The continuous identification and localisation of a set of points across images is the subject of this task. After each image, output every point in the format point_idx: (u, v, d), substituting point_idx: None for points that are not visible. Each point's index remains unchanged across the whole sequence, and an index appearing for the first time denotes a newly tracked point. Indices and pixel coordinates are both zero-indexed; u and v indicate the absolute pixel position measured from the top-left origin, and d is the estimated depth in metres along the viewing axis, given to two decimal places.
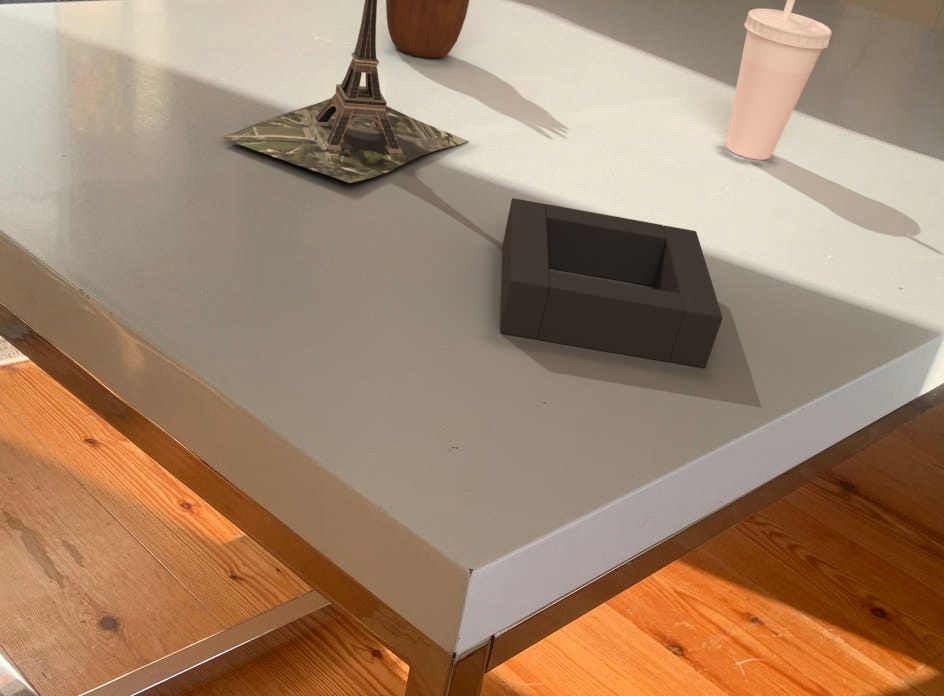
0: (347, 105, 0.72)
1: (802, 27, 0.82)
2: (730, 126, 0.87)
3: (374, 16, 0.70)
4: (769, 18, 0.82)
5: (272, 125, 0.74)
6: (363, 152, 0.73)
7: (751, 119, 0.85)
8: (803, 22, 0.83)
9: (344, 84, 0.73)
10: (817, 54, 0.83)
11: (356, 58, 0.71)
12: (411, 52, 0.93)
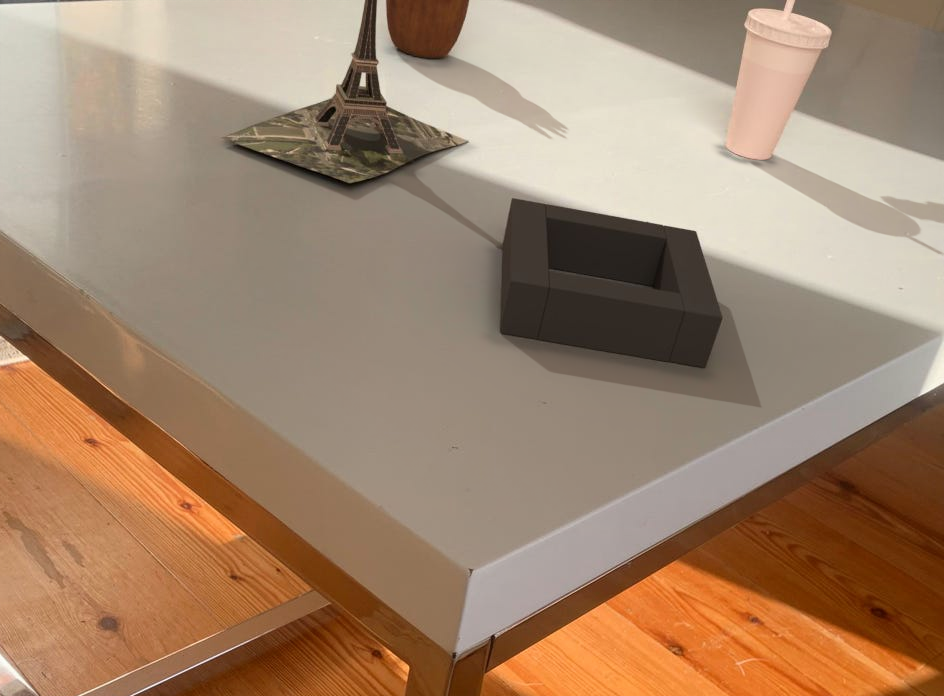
0: (347, 105, 0.72)
1: (802, 27, 0.82)
2: (730, 126, 0.87)
3: (374, 16, 0.70)
4: (769, 18, 0.82)
5: (272, 125, 0.74)
6: (363, 152, 0.73)
7: (751, 119, 0.85)
8: (803, 22, 0.83)
9: (344, 84, 0.73)
10: (817, 54, 0.83)
11: (356, 58, 0.71)
12: (411, 52, 0.93)
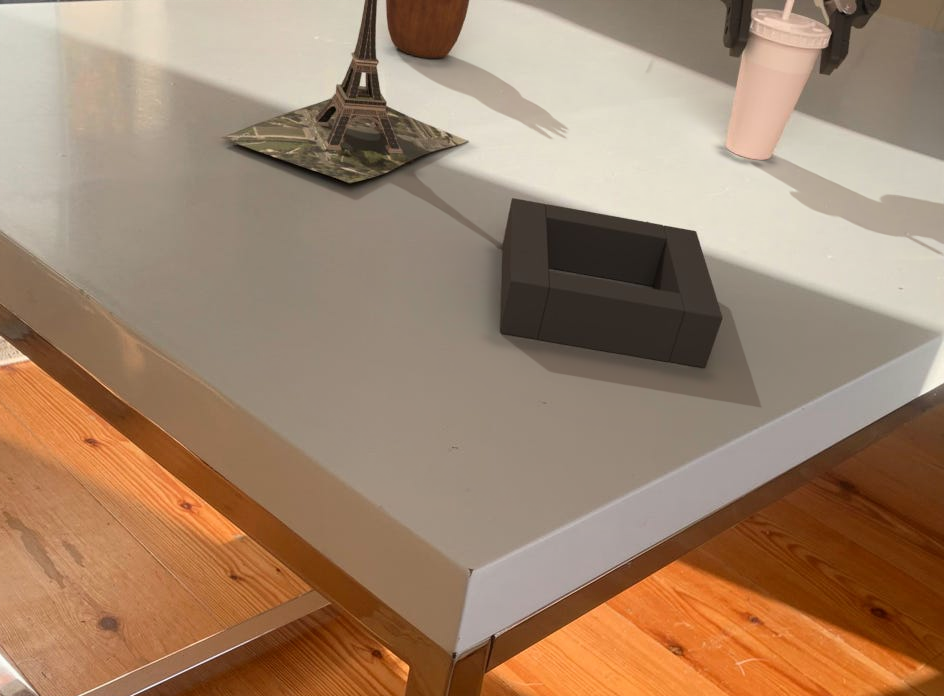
0: (347, 105, 0.72)
1: (802, 27, 0.82)
2: (730, 126, 0.87)
3: (374, 16, 0.70)
4: (769, 18, 0.82)
5: (272, 125, 0.74)
6: (363, 152, 0.73)
7: (751, 119, 0.85)
8: (803, 22, 0.83)
9: (344, 84, 0.73)
10: (817, 54, 0.83)
11: (356, 58, 0.71)
12: (411, 52, 0.93)
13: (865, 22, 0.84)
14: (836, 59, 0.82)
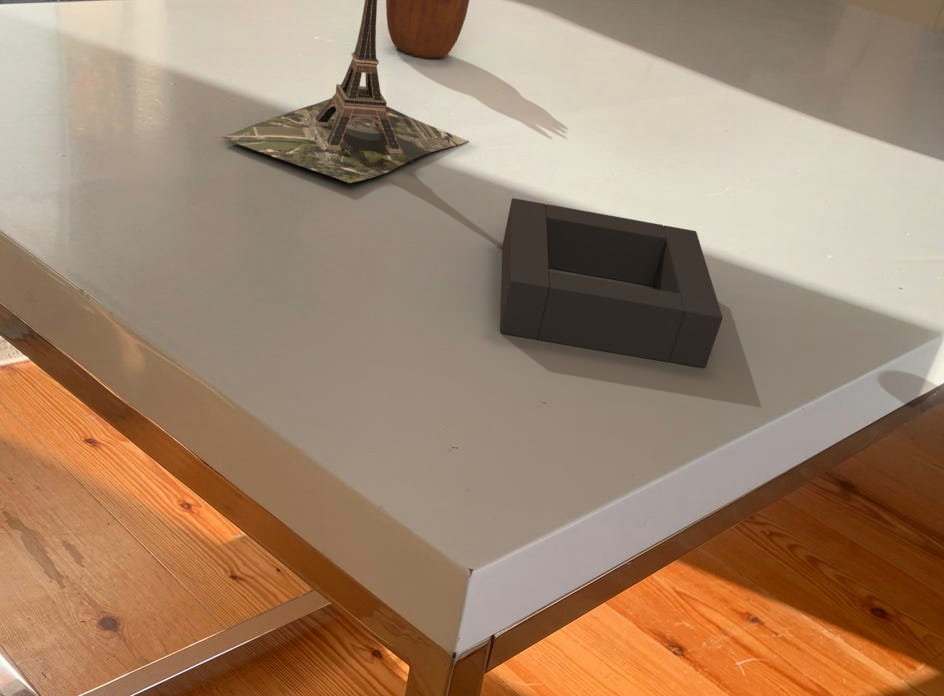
0: (347, 105, 0.72)
1: None
2: None
3: (374, 16, 0.70)
4: None
5: (272, 125, 0.74)
6: (363, 152, 0.73)
7: None
8: None
9: (344, 84, 0.73)
10: None
11: (356, 58, 0.71)
12: (411, 52, 0.93)
13: None
14: None
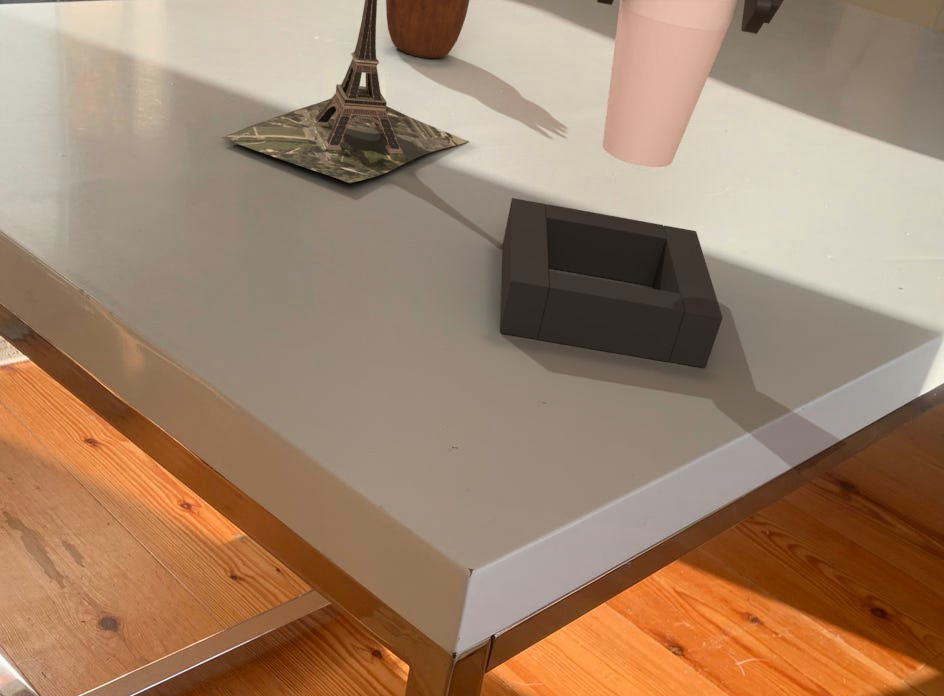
0: (347, 105, 0.72)
1: None
2: (607, 116, 0.56)
3: (374, 16, 0.70)
4: None
5: (272, 125, 0.74)
6: (363, 152, 0.73)
7: (636, 103, 0.54)
8: None
9: (344, 84, 0.73)
10: None
11: (356, 58, 0.71)
12: (411, 52, 0.93)
13: None
14: (765, 6, 0.51)
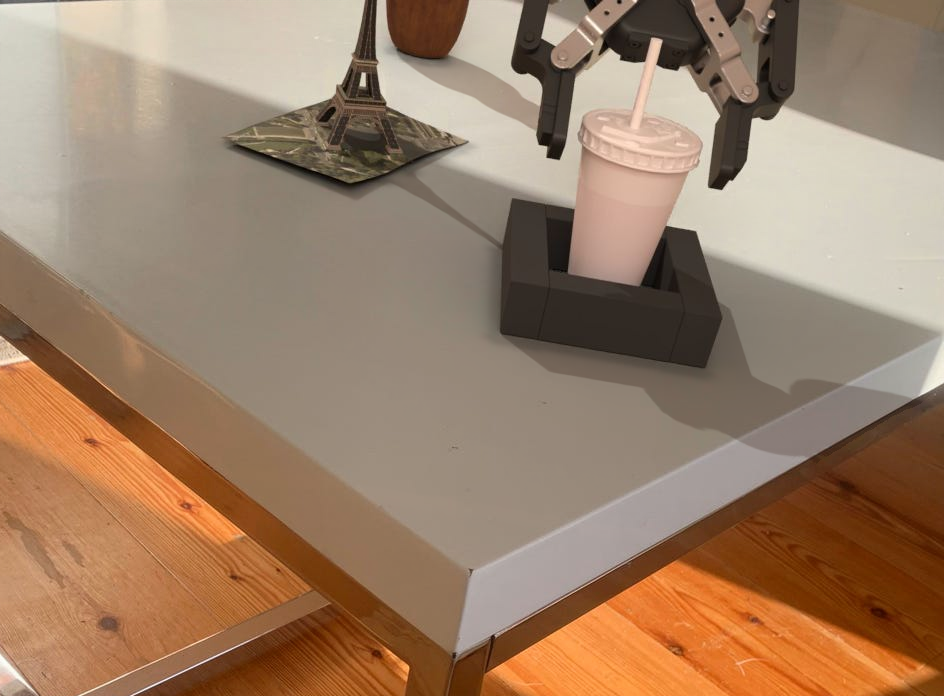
0: (347, 105, 0.72)
1: (658, 140, 0.56)
2: (568, 272, 0.61)
3: (374, 16, 0.70)
4: (609, 127, 0.56)
5: (272, 125, 0.74)
6: (363, 152, 0.73)
7: (593, 265, 0.59)
8: (661, 132, 0.57)
9: (344, 84, 0.73)
10: (681, 178, 0.57)
11: (356, 58, 0.71)
12: (411, 52, 0.93)
13: (776, 111, 0.58)
14: (728, 170, 0.56)
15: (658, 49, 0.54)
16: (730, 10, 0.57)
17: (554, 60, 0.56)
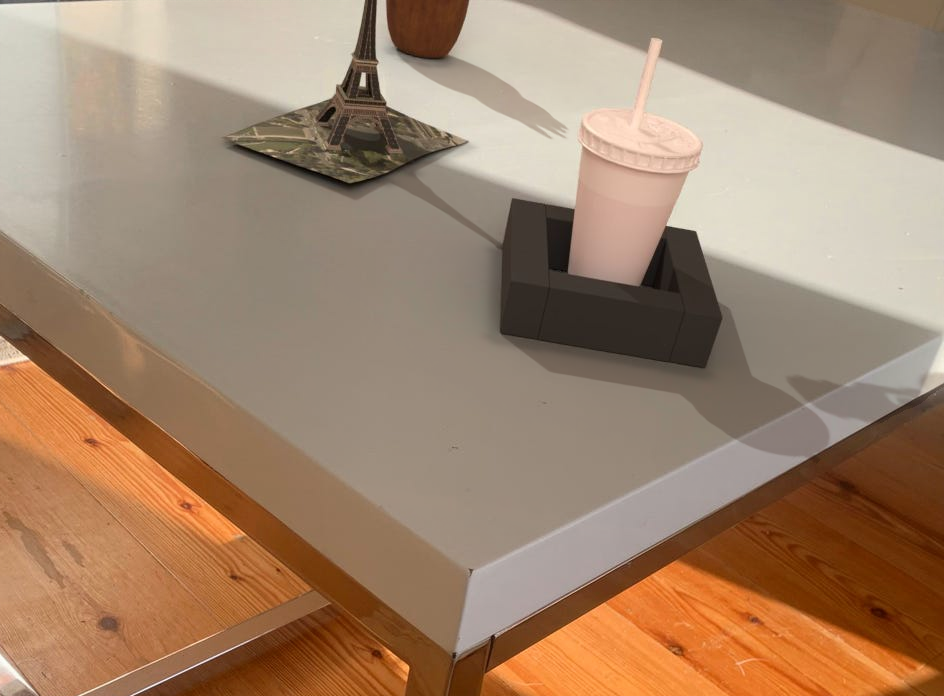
0: (347, 105, 0.72)
1: (658, 140, 0.56)
2: (568, 272, 0.61)
3: (374, 16, 0.70)
4: (609, 128, 0.56)
5: (272, 125, 0.74)
6: (363, 152, 0.73)
7: (593, 265, 0.59)
8: (661, 132, 0.57)
9: (344, 84, 0.73)
10: (681, 178, 0.57)
11: (356, 58, 0.71)
12: (411, 52, 0.93)
13: None
14: None
15: (658, 49, 0.54)
16: None
17: None
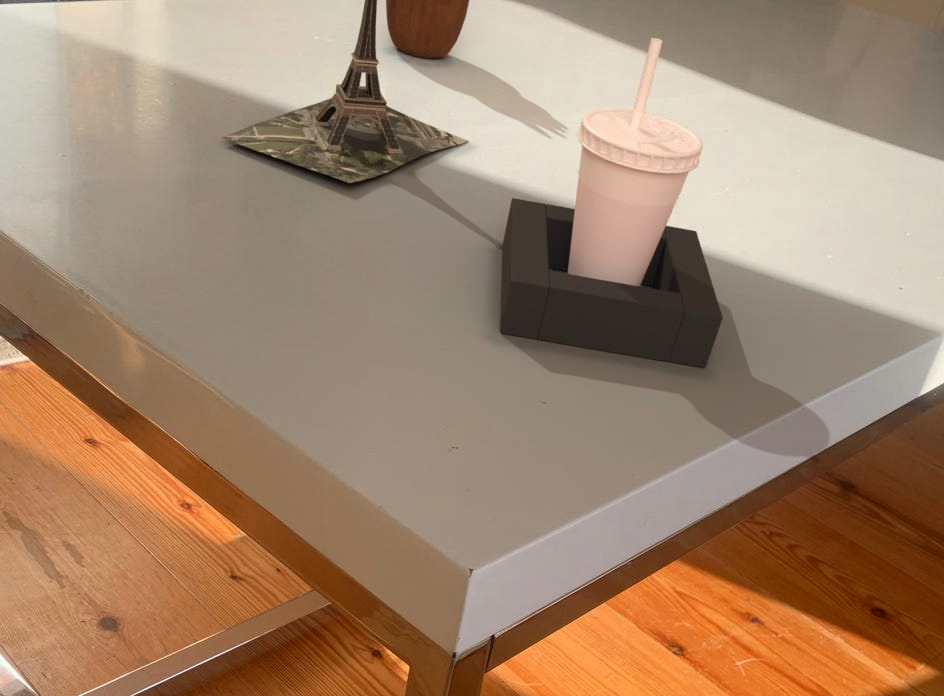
0: (347, 105, 0.72)
1: (658, 140, 0.56)
2: (568, 272, 0.61)
3: (374, 16, 0.70)
4: (609, 128, 0.56)
5: (272, 125, 0.74)
6: (363, 152, 0.73)
7: (593, 265, 0.59)
8: (661, 132, 0.57)
9: (344, 84, 0.73)
10: (681, 178, 0.57)
11: (356, 58, 0.71)
12: (411, 52, 0.93)
13: None
14: None
15: (658, 49, 0.54)
16: None
17: None
